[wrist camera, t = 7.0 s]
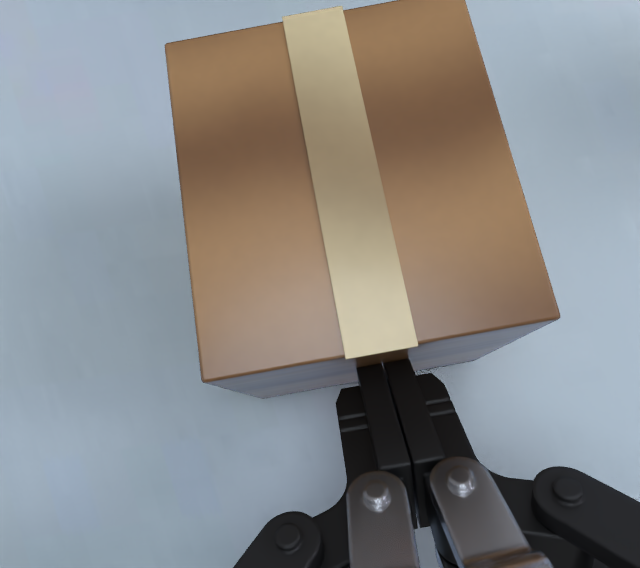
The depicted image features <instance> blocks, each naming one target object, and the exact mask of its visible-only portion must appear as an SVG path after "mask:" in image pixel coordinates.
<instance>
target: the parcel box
mask: <svg viewBox="0 0 640 568" xmlns="http://www.w3.org/2000/svg"><path fill="white" fill-rule="evenodd" d="M282 20H283V22H279V23H273V24H268V25H263V26H257V27H252V28H246V29H241V30H236V31H230V32H225V33H219V34H214V35H209V36H203V37H198V38H193V39H187V40H182V41H176V42H171V43H167V44H165V54H166V63H167V72H168V81H169V90H170V99H171V108H172V117H173V126H174V135H175V144H176V153H177V162H178V171H179V180H180V190H181V199H182V208H183V217H184V226H185V235H186V244H187V253H188V262H189V271H190V280H191V289H192V298H193V307H194V316H195V325H196V334H197V343H198V352H199V362H200V371H201V380H202V382H203V383H207V384H211V385H214V386H218V387H222V388H226V389H229V390H233V391H237V392H240V393H244V394H248V395H252V396H255V397H259V398H269V397H274V396H280V395H285V394H291V393H297V392H302V391H308V390H313V389H319V388H324V387H330V386H335V385H341V384H347V383H352V382H358V377H357V370H356V368H358V367H363V366H369V365H374V364H380V363H381V364H382V366H383V363H385V362H391V361H396V360H402V359H408V358H409V360H410V362H411V365H412V367H413V370H414V371H419V370H424V369H430V368H435V367H441V366H447V365H452V364H458V363H463V362H469V361H474V360H476V359H478V358H480V357H482V356H484V355H486V354H488V353H490V352H492V351H495V350H497V349H499V348H501V347H503V346H505V345H507V344H509V343H511V342H513V341H515V340H517V339H519V338H521V337H523V336H525V335H527V334H529V333H531V332H533V331H535V330H537V329H539V328H541V327H543V326H545V325H547V324H550V323H552V322H554V321H556V320H558V319H559V318H560V313H559V309H558V306H557V303H556V300H555V296H554V293H553V290H552V286H551V283H550V280H549V276H548V273H547V270H546V267H545V263H544V260H543V257H542V253H541V250H540V247H539V243H538V240H537V237H536V233H535V230H534V227H533V224H532V220H531V217H530V214H529V210H528V207H527V204H526V200H525V197H524V194H523V191H522V187H521V184H520V181H519V177H518V174H517V171H516V167H515V164H514V161H513V158H512V154H511V151H510V148H509V144H508V141H507V138H506V134H505V131H504V128H503V124H502V121H501V118H500V115H499V111H498V108H497V105H496V101H495V98H494V95H493V91H492V88H491V85H490V82H489V78H488V75H487V72H486V68H485V65H484V62H483V58H482V55H481V52H480V49H479V45H478V42H477V39H476V35H475V32H474V29H473V25H472V22H471V19H470V15H469V12H468V9H467V6H466V2H465V0H397V1H392V2H386V3H381V4H376V5H370V6H365V7H359V8H354V9H349V10H343V8H342V6H338V7H333V8H327V9H322V10H316V11H311V12H306V13H300V14H295V15H289V16H284V17H282Z"/></svg>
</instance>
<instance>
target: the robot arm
mask: <svg viewBox="0 0 640 568" xmlns="http://www.w3.org/2000/svg"><path fill="white" fill-rule="evenodd" d="M356 370H357V377H358V383H359V386H356V387H350V388H344V389H341V391H340V394H339V396H338V399H337V401H336V408H337V415H338V421H339V428H340V435H341V441H342V448H343V455H344V461H345V468H346V475H347V486H346V489H345V492H344V494H343V496H342V497H341V499H340V500H339V501H338V502H337V503H336V504H335V505H334V506H333V507H332V508H330V509H328V510H327V511H325V512H323V513H321V514H319V515H317V516H315V517H313V518H312V517H311V516H309V515H307V514H305V513H302V512H296V511H292V512H286V513H282V514H280V515H278V516H276V517H274V518H273V519H271V520H270V521H269V522H268V523H267V524H266V525H265V526H264V528H263V529H262V530H261V532H260V533H259V534H258V536H257V537H256V538H255V540H254V541H253V542H252V543H251V545H250V546H249V547H248V549H247V550H246V551H245V553H244V554H243V555H242V557H241V558H240V559H239V561H238V562H237V563H236V565H235V566H234V567H233V568H420V564H419V558H418V552H417V546H416V541H415V532H414V529H418V527H417V518H418V521H419V525H420V528H422V527H428V526H430V527H431V531H432V534H433V538H434V541H435V550H436V557H437V561H438V563H439V566H440V568H640V502H638V501H636V500H634V499H633V498H631V497H629V496H627V495H625V494H623V493H621V492H619V491H617V490H615V489H613V488H611V487H609V486H608V485H606V484H604V483H602V482H600V481H598V480H596V479H594V478H592V477H590V476H588V475H586V474H584V473H583V472H580V471H578V470H576V469H572V468H568V467H560V466H558V467H550V468H547V469H544V470H542V471H541V472H539V473H538V474H537V475H536V477H535V479H534V481H533V480H524V479H515V478H508V477H504V476H500V475H498V474H495V473H493V472H491V471H490V470H488V469H487V468H485V466H483V465H482V464H481V463H480V462H479V461H478V459H477V458H476V456H475V454H474V452H473V450H472V447H471V445H470V443H469V440H468V438H467V436H466V434H465V431H464V429H463V427H462V424H461V422H460V420H459V417H458V415H457V413H456V412H455V408H454V406H453V404H452V401H451V400H450V397H449V394H448V392H447V390H446V387H445V385H444V384H443V383H442V382H441V381H440V380H439V379H438V378H436V377H435V376H434V375H433V374H432V373H428V374H423V375H417V376H416V375H415V373H414V370H413V367H412V365H411V362H410V360H409V358H408V359H402V360H396V361H391V362H385V363H383V366H382V364H381V363H380V364H374V365H369V366H363V367H358V368H356ZM416 514H417V517H416Z"/></svg>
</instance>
